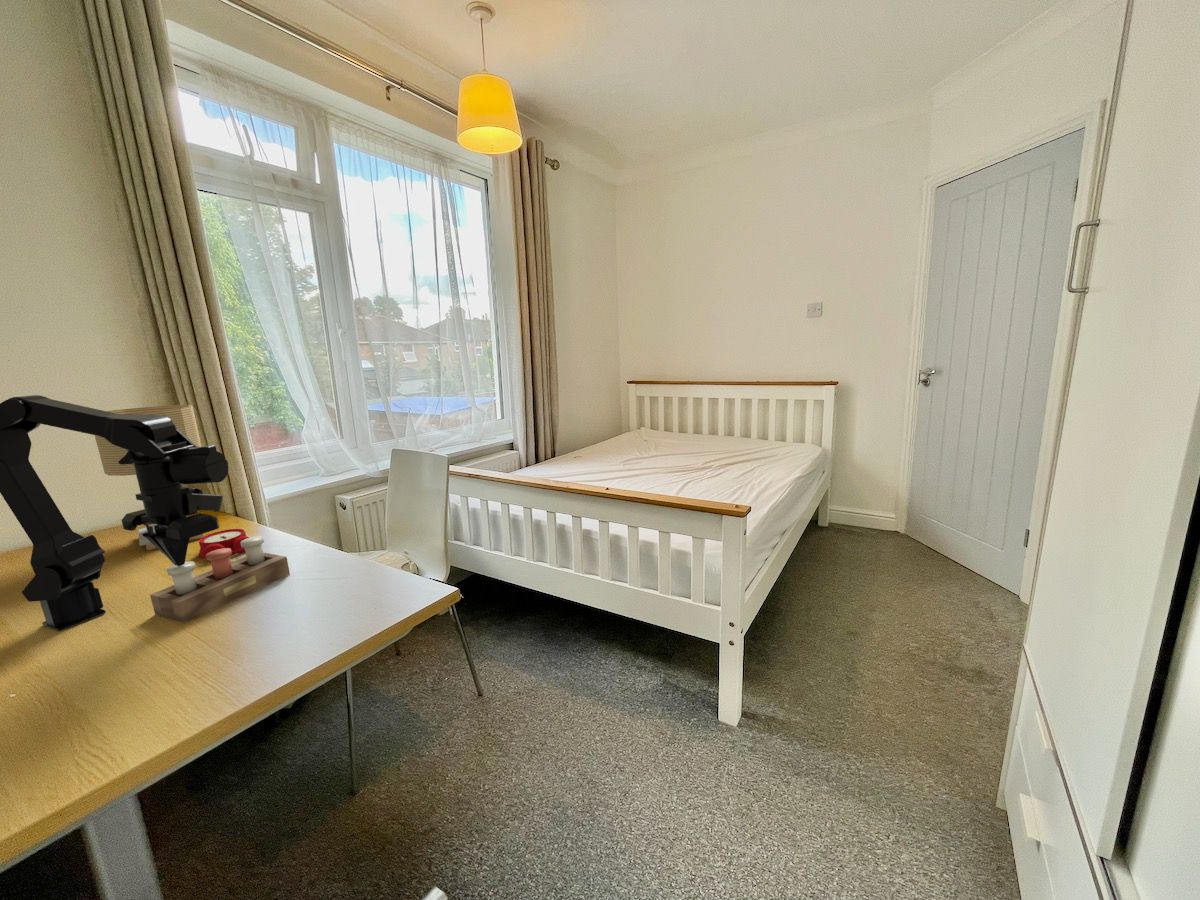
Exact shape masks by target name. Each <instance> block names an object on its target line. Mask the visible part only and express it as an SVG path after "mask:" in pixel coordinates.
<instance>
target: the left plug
mask: <svg viewBox="0 0 1200 900" xmlns="http://www.w3.org/2000/svg"><path fill="white" fill-rule="evenodd" d="M195 569H196V563H195V561H185V564H183V565H181V566H176V565H174V564H173V565H171V566H169V567H167V568H166V573H167V575H168V576H171V578H172V581H173V585H174V586H175V590H176V594H177V595H183V594H187V593H190V592H193V591H195V590H196V589H197V586H196V582H195V578H194V577H195V575H194V574H195V573H194V570H195Z"/></svg>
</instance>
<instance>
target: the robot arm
mask: <svg viewBox="0 0 1200 900" xmlns="http://www.w3.org/2000/svg"><path fill="white" fill-rule="evenodd" d="M107 411H108V410H101V409H98V408H92V407H88V406H84V405H79V404H73V403H70V402H67V401H60V400H56V399H51V398H50V397H49V398H48V397H47V396H44V395H39V394H38V395H37V394H33V395H24V396H23V395H21V396H13V397H10V398H8V399H6V400H3V401H2V402H0V495H1V496H2V498H3V500H4V501H5V503H6V504H7V506H8V507H9V510H11V512H12V514H13V515H14V516H15V518H16V520H17V521H18V523H19V524H20V526H21V527H22V529H23V530H24V532H25V534H26V535H27V537H28V539H30V541H31V544H32V550H31V557H30V562H29V563H30V566H31V568H32V571H33V574H34V577H33V578H31V580H30V581H29V582H28V583H27V585H26V586H25V587H24V588H23V590H22V591H21V594H22V595H23V596H24V598H25V599H26V601H27V602H32V603H33V602H39V603H40V607H41V609H42V613H43V616H44V619H45V621H42V622H41V624H42V626H44V627H47V628H49V629H53V630H56V631H58V632H60V631H64V630H65V629H68V628H71V627H73V626H76V625H79V624H82V623H84V622H86V621H89V620H91V619H94V618H96V617H99V616H101V615H103V614H106V609H103V608H104V604H103V600H102V596H101V594H100V590H99V588H97V587H95V586H94V582H93V581H95V580H97V579H99V578H101V571H102V568H103V566H104V563H105V562H106V558H105V556H104V554H105V553H106V551H105V550H104V549H103V548H102V547H101V546H100V545H99V543H98V540H97V538H96V536H94V535H93V534H89V535H87V536H84V535H81V534H79V533H77V532H75V531H73V529H71V527H70V525H69V523H68V522H67V521H66V518H65V517H64V516H63V514H62V512H61V510H60V509H59V508H58V505H57V503H55V501H54V499H53V497H52V496H51V494H50V493H49V491H48V489H47V488H46V486H45V484H44V483H43V482H42V480H41V478H40V477H39V475H38V473H37V471H36V470H35V468H34V467H33V465H32V463H31V462H30V460H29V459H30V454H31V449H32V441H31V438H30V436H29V433H31V432H32V431H34V430H35V429H37V428H39V427H40V426H41V425H44V426H50V427H54V428H60V429H63V430H69V431H73V432H78V433H83V434H87V435H92V436H95V435H96V436H100V437H102V438H105V439H106V440H108V441H109V442H110V443H111V444H112V445H115V446H118V447H120V448H123V449H126V450H129V451H128V452H127V454H126V455H125V456H124V457H123V458H122V459H121V460H119V461H118V463H119V464H121V465H123V464H134V468H135V472H136V480H137V484H138V487H139V492H140V493H136V494H135V499H136V501H142V503H143V509H140V510H136V511H133V512H128V513H126V514H125V515H124V516H123V518H122V519H121V524H122V528H123V530H125V531H130V532H131V531H132V532H133V531H135V530H136V529H137V527H138V526H145V528H147V533H143V534H142V535H143V537H146V538H147V539H148V540H149V541H150V542H151V543H152V544H154V545H155V546H156V547H157V548H156V549H158V550H159V551H160V552H161V553H162V554H163V555H164V556H165V557H166V558H167V559H168V560H169V561H170V562H171V563H172V564H173V565H176V566H181V565H183V564H185V562H186V559H187V552H188V547H189V544H190V543H189V542H190V540H189V539H190V538H191V537H194V536H197V535H200V534H203V535H204V534H206V533H209V532H212V531H217V530H218V529H220V523H219V520H218V517H216V516H214V515H212V514H206V513H200V512H198V511H213V512H215V513H216V512H218V513H219V512H221V508H222V503H223V500H224V499H223V497H224V496H223V495H220V494H219V495H218V494H211V493H204V492H203V489H202V488H196V487H187V486H183V485H193V484H194V485H196V484H209V483H221V482H223V481H224V480H226V478H227V476H228V472H229V462H228V460H227V459H226V457H225V456H224V455H223V454H222V453H221V452H220V451H218V450H217V447H216V445H215V444H210V445H204V446H201V447H196V445H195V444H194V443H193V442H191V441H190V440H189V439H188V438H187V437H186V436H185V435H184V434H183V433H182V432H180V431H179V430H178V429H177V428H176V427H175V425H174V424H173V422H172V420H171V419H169V418H168V417H165V416H161V415H148V414H116V413H112V412H107ZM170 444H172V445H170ZM168 445H169V446H168ZM164 446H165V447H164ZM160 447H161V448H160Z"/></svg>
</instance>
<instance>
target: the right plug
mask: <svg viewBox="0 0 1200 900" xmlns="http://www.w3.org/2000/svg"><path fill="white" fill-rule="evenodd" d="M264 539H265V538H264V536H261V535H259V536H258V535H257V536H251V537H249V538H247V539H244V540H242V541H241V542H240V543H241V547H243V548H245V552H244V553H245V557H247V562H248V565H256V564H260V563H262V562H264V561H265V558H264V553H265V552H264V549H263V543H265V540H264Z"/></svg>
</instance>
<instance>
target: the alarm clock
mask: <svg viewBox="0 0 1200 900" xmlns="http://www.w3.org/2000/svg"><path fill="white" fill-rule="evenodd" d="M247 538H250V536H247V535H246V531H245V529H243V528H242V529H241V528H231V529H224V530H220V531H215V532H213V533H209V534H207V535H203V537H202V538H199V539H198V540H199V541H198V543H199V547H200V548H199V552H198V557H199V558H201V559H206V560H207V558H206V554H207V553H209V552H211V551H214V550H217V549H223V548H230V549H231V552H232V554H231V555H234V554H244V553H246V552H245V548H243V547H241V543H240V542H241V541H242V540H244V539H247Z"/></svg>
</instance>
